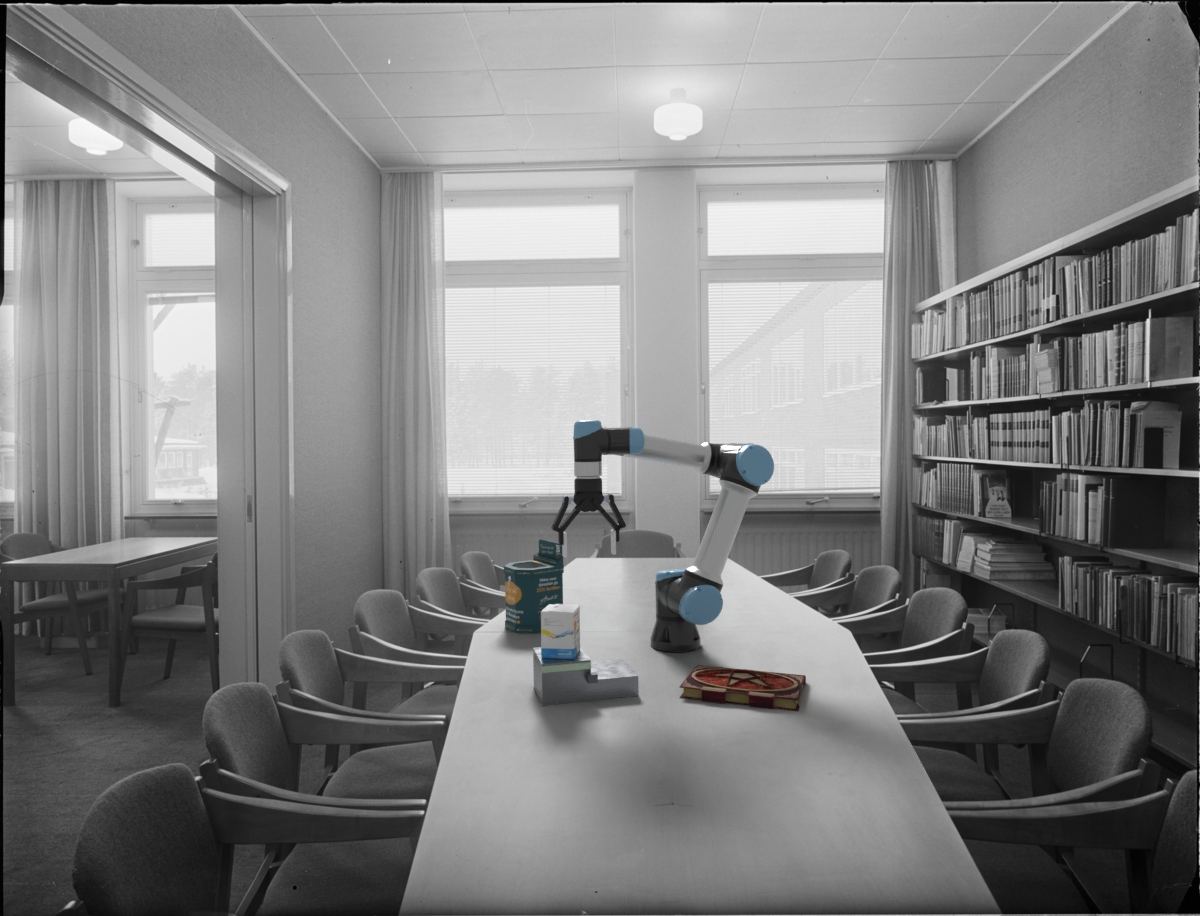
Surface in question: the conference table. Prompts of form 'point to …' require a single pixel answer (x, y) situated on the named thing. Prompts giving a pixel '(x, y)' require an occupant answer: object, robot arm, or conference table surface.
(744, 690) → the book
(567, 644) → the ink box
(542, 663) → the stepped stand
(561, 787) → the conference table surface
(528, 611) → the donation box
